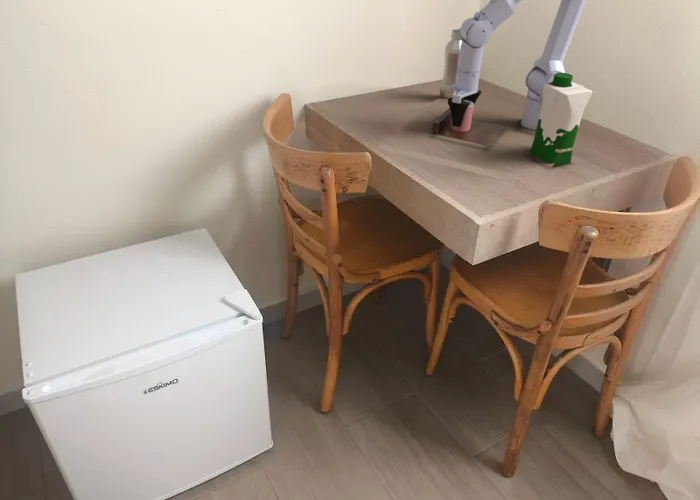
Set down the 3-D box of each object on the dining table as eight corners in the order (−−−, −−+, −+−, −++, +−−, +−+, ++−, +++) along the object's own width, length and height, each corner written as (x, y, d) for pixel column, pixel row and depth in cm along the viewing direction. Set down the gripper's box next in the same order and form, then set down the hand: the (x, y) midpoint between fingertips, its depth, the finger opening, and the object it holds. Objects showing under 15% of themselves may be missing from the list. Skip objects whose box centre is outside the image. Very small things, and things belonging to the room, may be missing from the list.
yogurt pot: (473, 126, 145) (477, 102, 141) (466, 133, 141) (470, 108, 137) (453, 122, 147) (457, 98, 143) (446, 129, 143) (450, 104, 139)
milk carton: (551, 149, 137) (571, 70, 125) (576, 164, 130) (600, 82, 119) (523, 155, 134) (541, 74, 122) (547, 170, 127) (569, 86, 116)
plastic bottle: (463, 98, 167) (473, 30, 155) (454, 104, 162) (464, 35, 151) (444, 94, 170) (452, 27, 158) (435, 100, 165) (443, 31, 153)
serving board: (502, 130, 147) (505, 115, 144) (486, 150, 136) (489, 134, 133) (450, 119, 152) (452, 104, 150) (431, 137, 142) (433, 122, 139)
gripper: (462, 60, 142) (455, 110, 150) (443, 74, 132) (437, 127, 140) (489, 64, 140) (480, 115, 147) (471, 79, 129) (463, 133, 137)
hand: (461, 121), depth 143 cm, fingers open, 7 cm apart
